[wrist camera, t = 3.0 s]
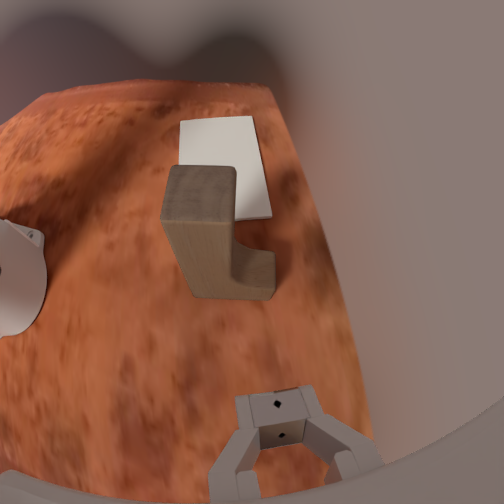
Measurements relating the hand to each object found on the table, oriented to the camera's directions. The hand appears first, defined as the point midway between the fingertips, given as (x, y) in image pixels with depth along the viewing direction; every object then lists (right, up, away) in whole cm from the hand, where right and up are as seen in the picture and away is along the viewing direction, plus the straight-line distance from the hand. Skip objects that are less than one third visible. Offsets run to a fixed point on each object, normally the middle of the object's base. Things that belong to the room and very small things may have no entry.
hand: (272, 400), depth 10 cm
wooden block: (-3, +2, +24) cm, 24 cm away
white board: (-5, +19, +31) cm, 36 cm away
